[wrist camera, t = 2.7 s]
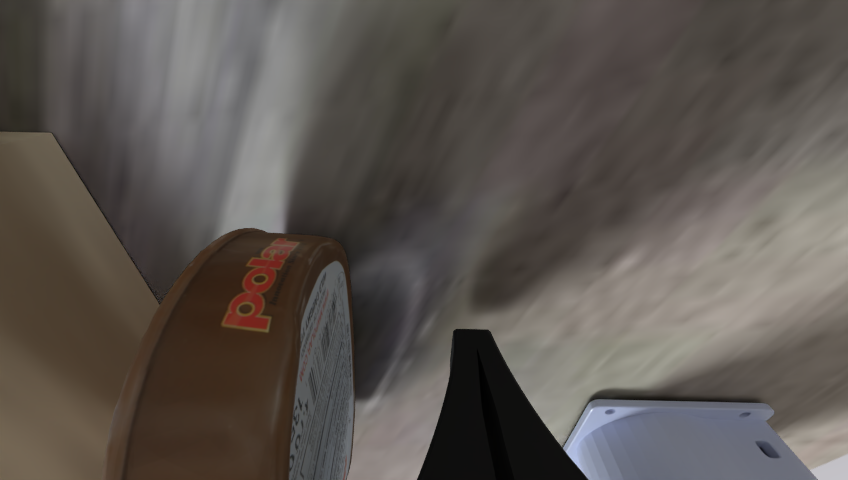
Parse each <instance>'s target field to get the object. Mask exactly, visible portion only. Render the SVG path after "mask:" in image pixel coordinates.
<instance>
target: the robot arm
mask: <svg viewBox="0 0 848 480" xmlns="http://www.w3.org/2000/svg"><path fill="white" fill-rule="evenodd" d="M773 415H774V410H773V409H772V408H771V407H770V406H769V405H768V404H765V403H740V402H696V401H653V400H610V399H597V400H593V401H591V402H590V403H589V404H588V405H587V407H586V409H585V411H584V412H583V414H582V416H581V418H580V419H579V421H578V423H577V425H576V426H575V428H574V430H573V432H572V433H571V435H570V437H569V439H568V440H567V442H566V444H565V446H564V447H563V448H562V447H561V445H560V444H559V443H558V442H557V440H556V439H555V438H554V436H553V435H552V434H551V432H550V431H549V430H548V428H547V427H546V426H545V424H544V423H543V421H542V420H541V419H540V417H539V416H538V414H537V413H536V411H535V410H534V408H533V407H532V405H531V404H530V402H529V401H528V399H527V398H526V396H525V394H524V393H523V391H522V390H521V388H520V386H519V385H518V383H517V381H516V380H515V378H514V376H513V375H512V373H511V371H510V369H509V368H508V366H507V364H506V362H505V360H504V359H503V357H502V355H501V353H500V351H499V349H498V347H497V345H496V343H495V341H494V338H493V336H492V334H491V332H490V331H489V330H477V329H456V330H454V331H453V339H452V348H451V358H450V377H449V382H448V386H447V390H446V394H445V398H444V402H443V406H442V410H441V413H440V416H439V420H438V423H437V426H436V429H435V432H434V435H433V438H432V441H431V444H430V447H429V450H428V452H427V455H426V458H425V461H424V463H423V466H422V469H421V471H420V474H419V476H418V479H417V480H818V479H817V478H816V477H815V476H814V475H813V474H812V473H811V471H810V470H809V469H808V468H807V467H806V466H805V465H804V464H803V463H802V461H801V460H800V459H799V458H798V457H797V456H796V455H795V454H794V452H793V451H792V450H791V449H790V448H789V447H788V446H787V445H786V443H785V442H784V441H783V440H782V439H781V438H780V437H779V436H778V435H777V433H776V432H775V431H774V430H773V429H772V428H771V427H770V426H769V424H768V423H767V422H766V421H767V420H768V419H769V418H770V417H771V416H773Z"/></svg>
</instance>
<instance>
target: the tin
mask: <svg viewBox="0 0 848 480" xmlns="http://www.w3.org/2000/svg"><path fill="white" fill-rule="evenodd" d="M354 418H355V367H354V331H353V312H352V294H351V281H350V273H349V265H348V260H347V256H346V253H345V251H344V249H343V247H342V245H341V244H340V243H339V242H337V241H336V240H334V239H332V238H327V237H322V236H313V235H300V234H282V233H267V232H265V231H263V230H259V229H255V228H244V229H238V230H235V231H232V232H229V233H227V234H225V235H223V236H221V237H220V238H218V239H217V240H215V241H214V242H212V243H211V244H210V245H209V246H208V247H206V248H205V249H204V250H202V251H201V252H200V253H199V254H198V255H197V256H196V257H195V258H194V260H193V261H192V262H191V263H190V264H189V265H188V266H187V267H186V269H185V270H184V271H183V273H182V274H181V275H180V276H179V278H178V279H177V280H176V281H175V283H174V284H173V286H172V287H171V289H170V290H169V292H168V293H167V294H166V296H165V297H164V299H163V301H162V302H161V304H160V306H159V307H158V309H157V311H156V313H155V314H154V316H153V318H152V320H151V323H150V325H149V327H148V329H147V331H146V333H145V334H144V336H143V337H142V339H141V342H140V345H139V348H138V350H137V353H136V355H135V357H134V360H133V362H132V364H131V366H130V368H129V371H128V373H127V376H126V378H125V381H124V384H123V387H122V390H121V393H120V397H119V400H118V402H117V405H116V408H115V411H114V414H113V418H112V422H111V426H110V429H109V435H108V441H107V445H106V450H105V458H104V463H103V467H102V480H346V479H347V476H348V473H349V469H350V465H351V457H352V448H353V434H354Z"/></svg>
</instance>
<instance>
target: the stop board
mask: <svg viewBox="0 0 848 480" xmlns="http://www.w3.org/2000/svg"><path fill="white" fill-rule="evenodd" d="M159 306H160V305H159V303H158V301H157V300H156V298H155V297H154V295H153V293H152V292H151V290H150V289H149V287H148V286H147V284H146V282H145V281H144V279H143V278H142V276H141V274H140V273H139V271H138V270H137V268H136V266H135V265H134V263H133V262H132V260H131V259H130V257H129V255H128V254H127V252H126V251H125V249H124V247H123V246H122V244H121V243H120V241H119V240H118V238H117V236H116V235H115V233H114V232H113V230H112V228H111V227H110V225H109V224H108V222H107V220H106V219H105V217H104V216H103V214H102V213H101V211H100V209H99V208H98V206H97V205H96V203H95V201H94V200H93V198H92V197H91V195H90V193H89V192H88V190H87V189H86V187H85V186H84V184H83V182H82V181H81V179H80V178H79V176H78V174H77V173H76V171H75V170H74V168H73V166H72V165H71V163H70V162H69V160H68V159H67V157H66V155H65V154H64V152H63V151H62V149H61V147H60V146H59V144H58V143H57V141H56V139H55V138H54V136H53V135H52V133H40V132H0V480H102V467H103V463H104V458H105V450H106V445H107V441H108V435H109V429H110V426H111V422H112V418H113V414H114V411H115V408H116V405H117V402H118V400H119V397H120V393H121V390H122V387H123V384H124V381H125V378H126V376H127V373H128V371H129V368H130V366H131V364H132V362H133V360H134V357H135V355H136V353H137V350H138V348H139V345H140V342H141V339H142V337H143V336H144V334H145V333H146V331H147V329H148V327H149V325H150V323H151V320H152V318H153V316H154V314H155V313H156V311H157V309H158V307H159Z"/></svg>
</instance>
